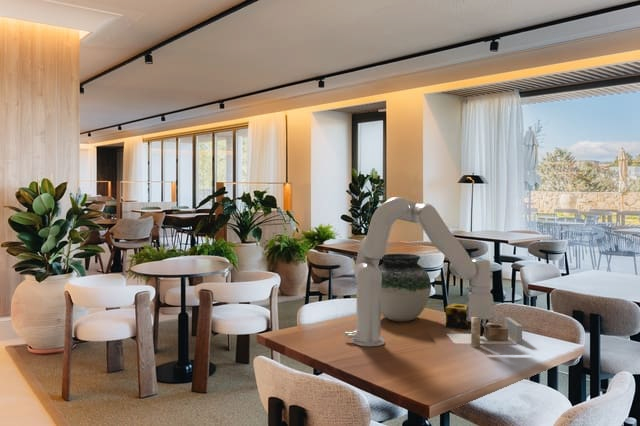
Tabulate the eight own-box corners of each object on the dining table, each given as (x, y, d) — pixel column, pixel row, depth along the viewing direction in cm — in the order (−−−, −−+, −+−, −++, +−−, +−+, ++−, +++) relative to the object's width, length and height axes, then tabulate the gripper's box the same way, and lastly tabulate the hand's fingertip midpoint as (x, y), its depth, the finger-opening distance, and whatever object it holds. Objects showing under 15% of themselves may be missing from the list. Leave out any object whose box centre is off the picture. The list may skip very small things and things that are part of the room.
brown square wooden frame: (488, 341, 203) (488, 328, 202) (483, 336, 210) (483, 324, 210) (508, 341, 203) (508, 328, 202) (501, 336, 210) (501, 324, 210)
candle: (475, 327, 228) (475, 305, 228) (468, 332, 219) (468, 309, 219) (452, 324, 234) (452, 302, 233) (445, 329, 225) (445, 306, 225)
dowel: (472, 350, 194) (472, 318, 194) (470, 347, 197) (470, 316, 197) (481, 350, 194) (481, 318, 194) (478, 347, 197) (478, 316, 197)
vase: (416, 329, 224) (417, 261, 223) (359, 321, 240) (359, 256, 239) (439, 317, 248) (440, 254, 247) (386, 310, 264) (386, 251, 263)
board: (454, 345, 200) (454, 325, 199) (446, 336, 214) (446, 317, 213) (522, 346, 199) (522, 325, 199) (509, 336, 213) (509, 317, 213)
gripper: (463, 291, 202) (463, 338, 203) (502, 291, 202) (501, 338, 203) (458, 288, 210) (458, 333, 210) (495, 288, 209) (495, 333, 210)
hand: (479, 335), depth 206 cm, fingers closed
